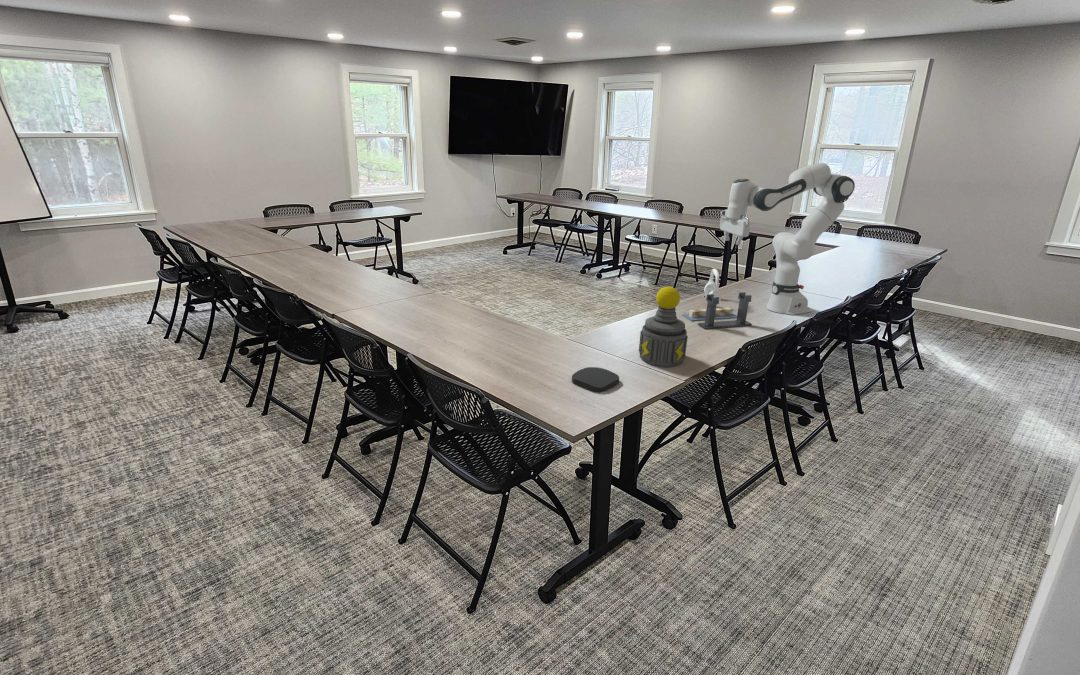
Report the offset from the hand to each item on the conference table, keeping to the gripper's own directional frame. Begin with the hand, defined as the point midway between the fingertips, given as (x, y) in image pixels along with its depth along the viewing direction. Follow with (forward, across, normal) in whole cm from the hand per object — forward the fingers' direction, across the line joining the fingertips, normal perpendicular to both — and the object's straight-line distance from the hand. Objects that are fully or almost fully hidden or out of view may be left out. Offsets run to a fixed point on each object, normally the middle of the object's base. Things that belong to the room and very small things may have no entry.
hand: (732, 242), depth 275 cm
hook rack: (+35, -20, +11) cm, 42 cm away
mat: (+35, -7, +11) cm, 37 cm away
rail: (+34, -7, +11) cm, 37 cm away
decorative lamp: (+36, -50, +59) cm, 85 cm away
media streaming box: (+36, -65, +93) cm, 119 cm away
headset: (+35, +14, -2) cm, 38 cm away
